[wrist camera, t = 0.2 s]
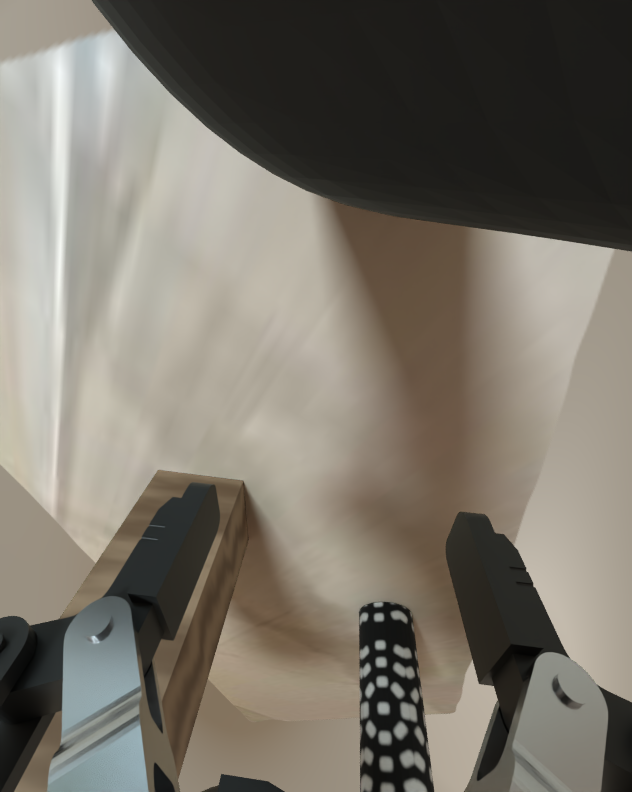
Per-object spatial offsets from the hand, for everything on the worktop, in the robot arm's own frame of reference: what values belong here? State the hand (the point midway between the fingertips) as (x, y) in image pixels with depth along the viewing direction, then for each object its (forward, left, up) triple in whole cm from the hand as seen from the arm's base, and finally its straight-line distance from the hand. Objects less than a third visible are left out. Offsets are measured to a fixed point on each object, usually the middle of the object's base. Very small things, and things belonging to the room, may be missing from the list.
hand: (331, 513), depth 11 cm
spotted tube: (+48, +12, -18) cm, 53 cm away
